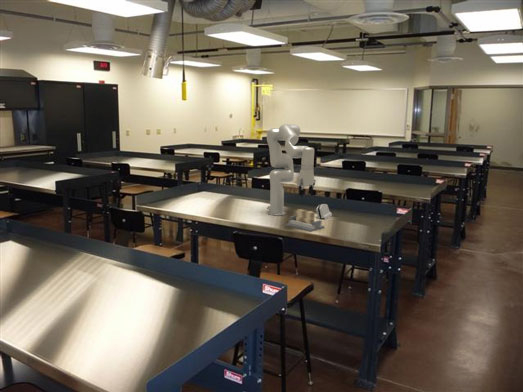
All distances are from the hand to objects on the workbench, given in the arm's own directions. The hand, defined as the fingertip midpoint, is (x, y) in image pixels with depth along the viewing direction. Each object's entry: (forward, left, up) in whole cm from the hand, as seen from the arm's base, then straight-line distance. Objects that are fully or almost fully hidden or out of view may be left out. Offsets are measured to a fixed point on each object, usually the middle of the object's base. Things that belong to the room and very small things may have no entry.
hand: (305, 194), depth 281 cm
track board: (0, 0, -21) cm, 21 cm away
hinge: (-9, +32, -21) cm, 40 cm away
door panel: (0, 0, -19) cm, 19 cm away
